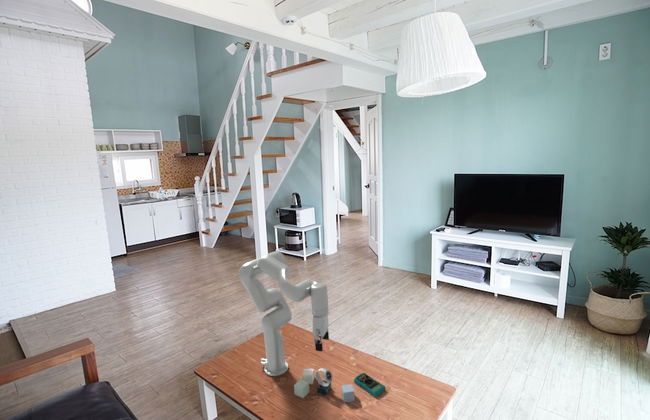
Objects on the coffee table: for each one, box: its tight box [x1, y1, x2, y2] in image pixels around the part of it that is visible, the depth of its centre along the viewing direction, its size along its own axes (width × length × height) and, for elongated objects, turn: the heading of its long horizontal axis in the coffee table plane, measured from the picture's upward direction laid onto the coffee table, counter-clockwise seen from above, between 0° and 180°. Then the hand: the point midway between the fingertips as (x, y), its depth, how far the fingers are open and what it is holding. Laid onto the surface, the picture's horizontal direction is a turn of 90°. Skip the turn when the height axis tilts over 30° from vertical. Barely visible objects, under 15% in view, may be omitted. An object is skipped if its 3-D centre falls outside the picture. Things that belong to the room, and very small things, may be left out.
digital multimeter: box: [353, 372, 386, 398], centre depth 164 cm, size 7×15×3 cm, turn 38°
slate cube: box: [341, 383, 356, 403], centre depth 157 cm, size 5×5×5 cm
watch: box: [315, 367, 333, 397], centre depth 162 cm, size 6×8×11 cm
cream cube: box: [301, 368, 315, 385], centre depth 170 cm, size 5×5×5 cm
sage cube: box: [293, 378, 310, 399], centre depth 161 cm, size 5×5×5 cm
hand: (322, 344), depth 158 cm, fingers open, 9 cm apart
